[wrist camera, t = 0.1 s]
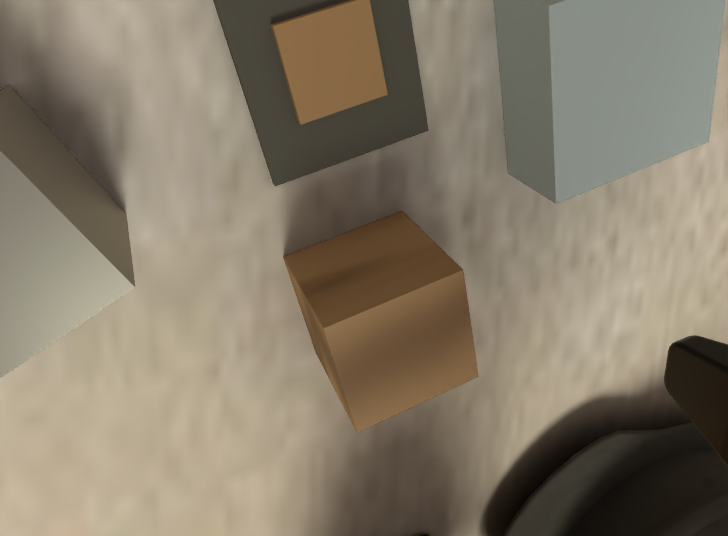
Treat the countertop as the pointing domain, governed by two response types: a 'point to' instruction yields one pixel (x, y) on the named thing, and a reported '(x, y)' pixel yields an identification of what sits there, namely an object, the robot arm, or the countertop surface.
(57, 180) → the grey cube
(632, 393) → the countertop surface
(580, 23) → the base block
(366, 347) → the walnut cube
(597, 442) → the casserole
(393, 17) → the mat
